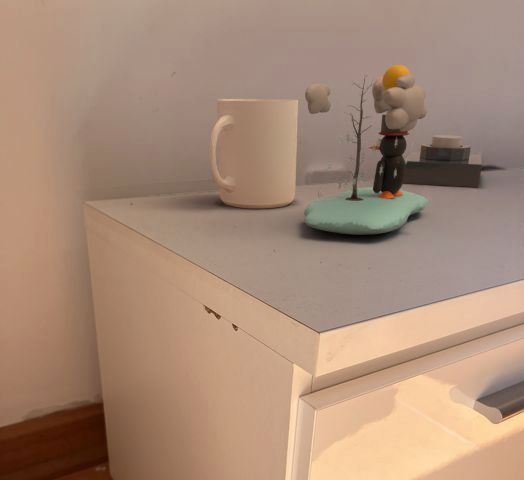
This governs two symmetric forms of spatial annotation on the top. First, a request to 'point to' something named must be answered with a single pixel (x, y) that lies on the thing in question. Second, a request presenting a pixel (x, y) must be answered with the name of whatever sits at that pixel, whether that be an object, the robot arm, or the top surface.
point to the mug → (255, 152)
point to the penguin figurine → (388, 168)
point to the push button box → (443, 166)
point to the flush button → (446, 141)
